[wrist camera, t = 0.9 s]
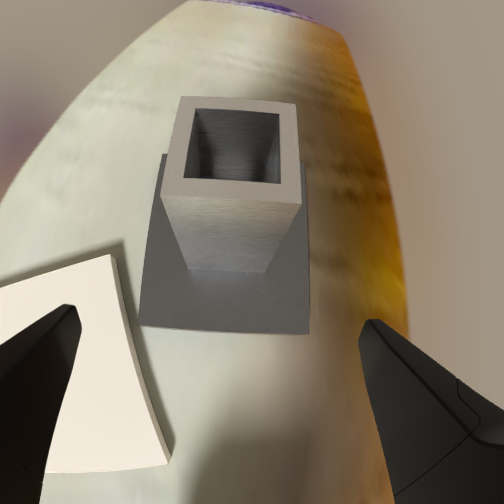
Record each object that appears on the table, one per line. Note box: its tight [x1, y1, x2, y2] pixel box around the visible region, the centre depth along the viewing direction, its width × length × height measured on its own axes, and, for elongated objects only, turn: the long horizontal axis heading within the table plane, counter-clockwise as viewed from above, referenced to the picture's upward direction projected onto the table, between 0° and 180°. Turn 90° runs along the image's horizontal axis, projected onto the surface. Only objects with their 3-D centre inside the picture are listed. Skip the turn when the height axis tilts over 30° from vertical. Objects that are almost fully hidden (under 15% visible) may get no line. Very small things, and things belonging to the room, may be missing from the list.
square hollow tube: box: [160, 96, 302, 273], centre depth 18 cm, size 5×5×11 cm
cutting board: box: [0, 254, 171, 473], centre depth 19 cm, size 16×14×2 cm
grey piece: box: [138, 154, 309, 335], centre depth 21 cm, size 14×12×6 cm
